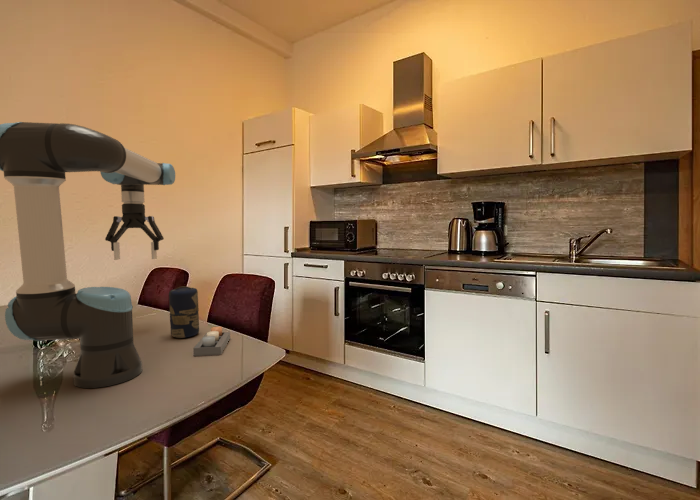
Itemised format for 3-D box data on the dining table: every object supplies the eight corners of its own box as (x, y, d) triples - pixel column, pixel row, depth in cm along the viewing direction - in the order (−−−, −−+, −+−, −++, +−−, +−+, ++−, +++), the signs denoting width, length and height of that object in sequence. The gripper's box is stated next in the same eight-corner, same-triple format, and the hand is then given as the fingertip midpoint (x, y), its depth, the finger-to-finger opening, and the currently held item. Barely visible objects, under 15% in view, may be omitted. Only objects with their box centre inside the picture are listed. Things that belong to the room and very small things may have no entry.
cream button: (217, 341, 118) (217, 333, 118) (205, 342, 118) (205, 334, 118) (219, 338, 122) (219, 330, 122) (208, 338, 121) (208, 331, 121)
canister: (192, 339, 128) (190, 288, 127) (165, 339, 128) (163, 288, 127) (203, 331, 138) (202, 284, 136) (178, 331, 138) (176, 284, 137)
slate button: (213, 347, 113) (213, 339, 113) (201, 347, 112) (201, 339, 112) (216, 343, 116) (216, 335, 116) (204, 344, 116) (204, 336, 116)
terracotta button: (221, 336, 124) (220, 329, 124) (209, 337, 123) (209, 329, 123) (223, 333, 127) (223, 326, 127) (212, 333, 127) (212, 326, 127)
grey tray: (220, 354, 113) (220, 346, 112) (193, 356, 111) (193, 348, 111) (230, 339, 128) (230, 331, 128) (206, 340, 127) (206, 333, 127)
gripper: (171, 204, 144) (173, 257, 145) (104, 204, 142) (107, 258, 143) (163, 202, 137) (165, 259, 138) (92, 202, 135) (95, 260, 136)
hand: (135, 259), depth 141 cm, fingers open, 13 cm apart
